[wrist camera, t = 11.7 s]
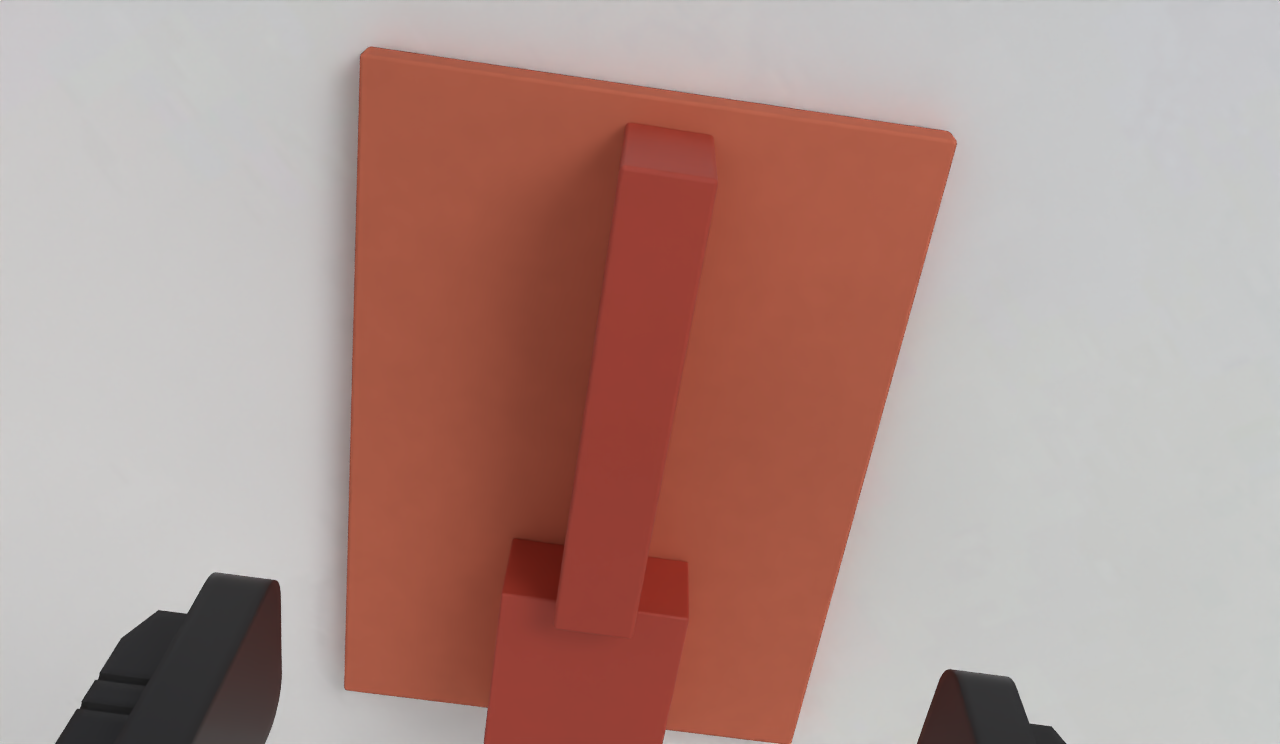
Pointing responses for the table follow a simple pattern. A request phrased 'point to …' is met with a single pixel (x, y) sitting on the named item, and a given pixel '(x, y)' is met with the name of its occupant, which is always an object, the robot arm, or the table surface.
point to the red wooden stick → (615, 483)
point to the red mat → (561, 356)
